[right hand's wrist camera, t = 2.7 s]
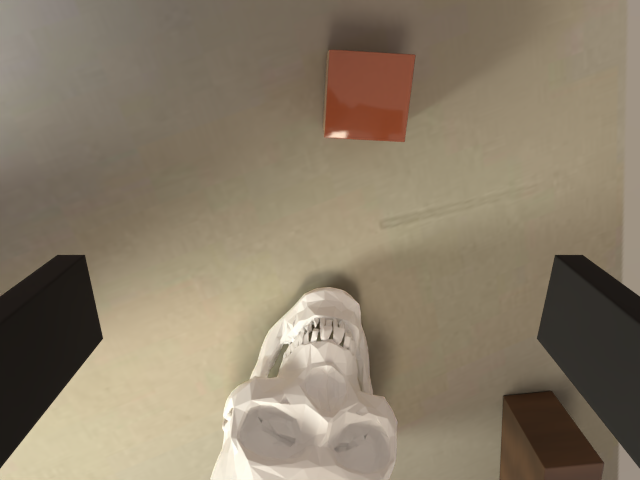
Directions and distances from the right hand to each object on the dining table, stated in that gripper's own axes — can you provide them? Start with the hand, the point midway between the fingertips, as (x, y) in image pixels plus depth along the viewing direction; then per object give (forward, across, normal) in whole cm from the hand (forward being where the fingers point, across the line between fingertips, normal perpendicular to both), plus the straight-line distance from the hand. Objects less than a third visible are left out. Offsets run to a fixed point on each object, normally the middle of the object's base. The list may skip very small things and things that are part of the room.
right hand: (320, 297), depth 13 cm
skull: (+21, +1, +21) cm, 30 cm away
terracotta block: (+21, -3, -4) cm, 22 cm away
